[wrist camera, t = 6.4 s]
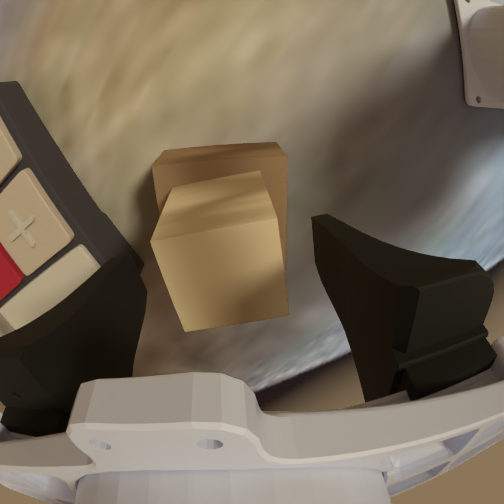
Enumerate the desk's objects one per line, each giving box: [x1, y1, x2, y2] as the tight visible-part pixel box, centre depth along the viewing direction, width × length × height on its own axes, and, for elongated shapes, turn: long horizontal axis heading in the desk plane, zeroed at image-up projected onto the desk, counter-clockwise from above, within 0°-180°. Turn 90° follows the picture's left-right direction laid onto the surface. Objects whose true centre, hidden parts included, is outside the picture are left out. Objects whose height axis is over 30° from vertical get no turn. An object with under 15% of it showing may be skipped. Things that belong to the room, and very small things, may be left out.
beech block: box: [150, 170, 289, 332], centre depth 13 cm, size 4×4×5 cm
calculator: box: [0, 81, 144, 330], centre depth 16 cm, size 11×4×15 cm
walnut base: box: [152, 142, 287, 270], centre depth 17 cm, size 6×6×4 cm
